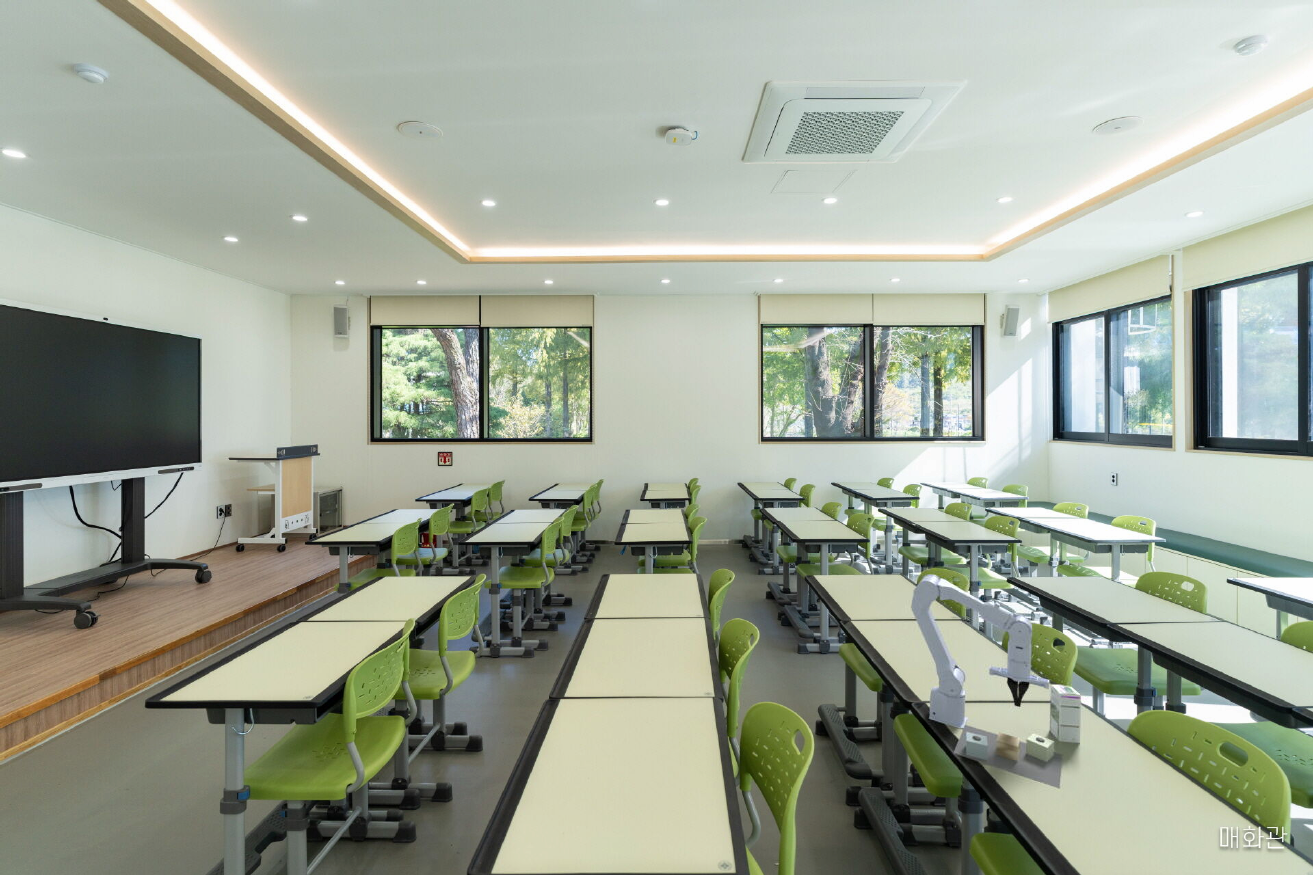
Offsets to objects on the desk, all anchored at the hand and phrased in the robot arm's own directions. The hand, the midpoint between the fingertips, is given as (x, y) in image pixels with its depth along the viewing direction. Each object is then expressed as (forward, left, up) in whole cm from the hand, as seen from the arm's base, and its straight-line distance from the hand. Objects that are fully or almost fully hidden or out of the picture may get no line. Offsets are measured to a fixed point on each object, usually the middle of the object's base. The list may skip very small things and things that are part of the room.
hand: (1017, 704), depth 165 cm
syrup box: (+11, +9, -10) cm, 17 cm away
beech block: (-1, -11, -10) cm, 15 cm away
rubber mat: (-1, -11, -10) cm, 15 cm away
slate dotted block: (-8, -16, -10) cm, 20 cm away
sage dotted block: (+6, -6, -10) cm, 13 cm away
